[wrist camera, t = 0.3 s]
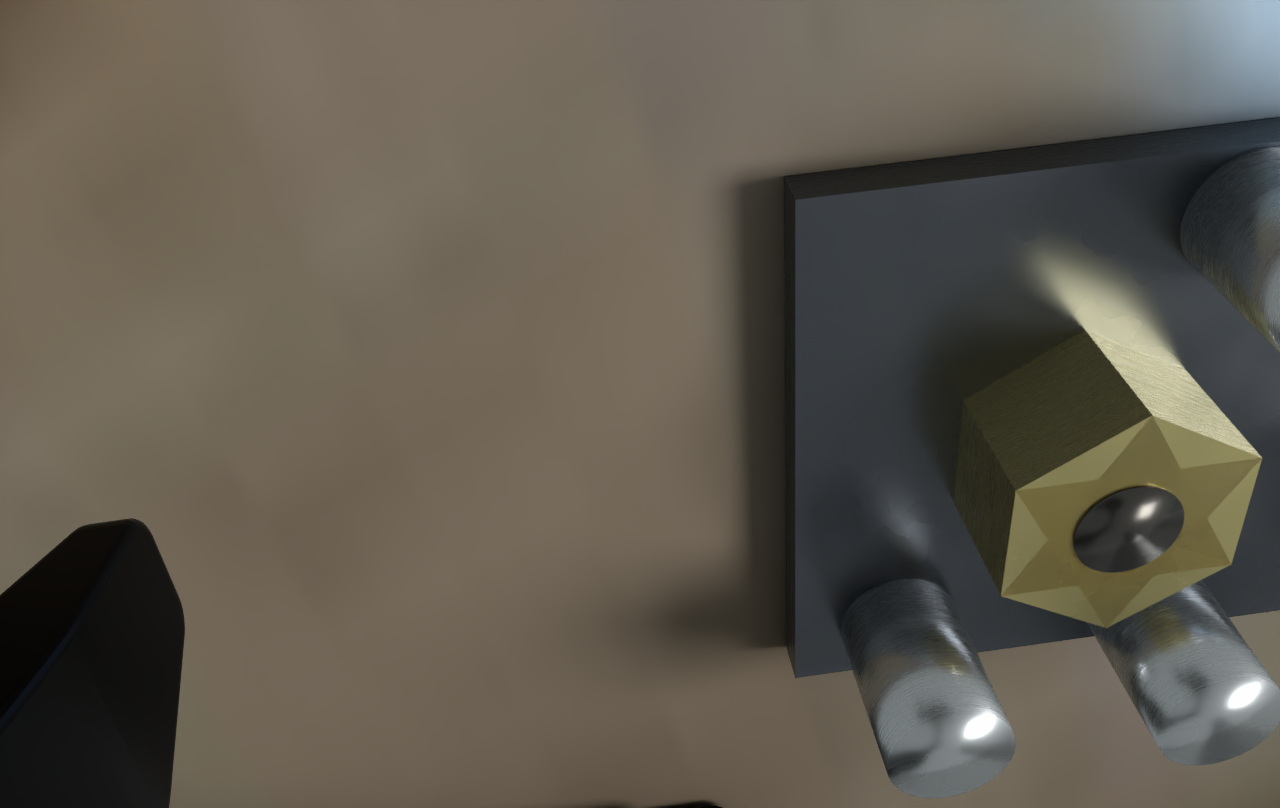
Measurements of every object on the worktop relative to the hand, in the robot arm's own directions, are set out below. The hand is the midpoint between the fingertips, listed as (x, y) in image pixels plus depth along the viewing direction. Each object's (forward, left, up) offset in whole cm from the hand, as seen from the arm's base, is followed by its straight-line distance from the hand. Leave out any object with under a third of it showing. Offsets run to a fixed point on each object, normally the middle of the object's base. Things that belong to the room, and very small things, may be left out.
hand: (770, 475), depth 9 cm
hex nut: (-11, -9, -13) cm, 19 cm away
